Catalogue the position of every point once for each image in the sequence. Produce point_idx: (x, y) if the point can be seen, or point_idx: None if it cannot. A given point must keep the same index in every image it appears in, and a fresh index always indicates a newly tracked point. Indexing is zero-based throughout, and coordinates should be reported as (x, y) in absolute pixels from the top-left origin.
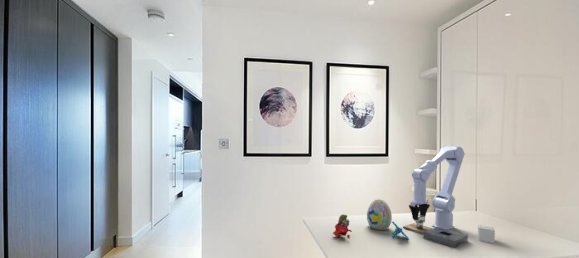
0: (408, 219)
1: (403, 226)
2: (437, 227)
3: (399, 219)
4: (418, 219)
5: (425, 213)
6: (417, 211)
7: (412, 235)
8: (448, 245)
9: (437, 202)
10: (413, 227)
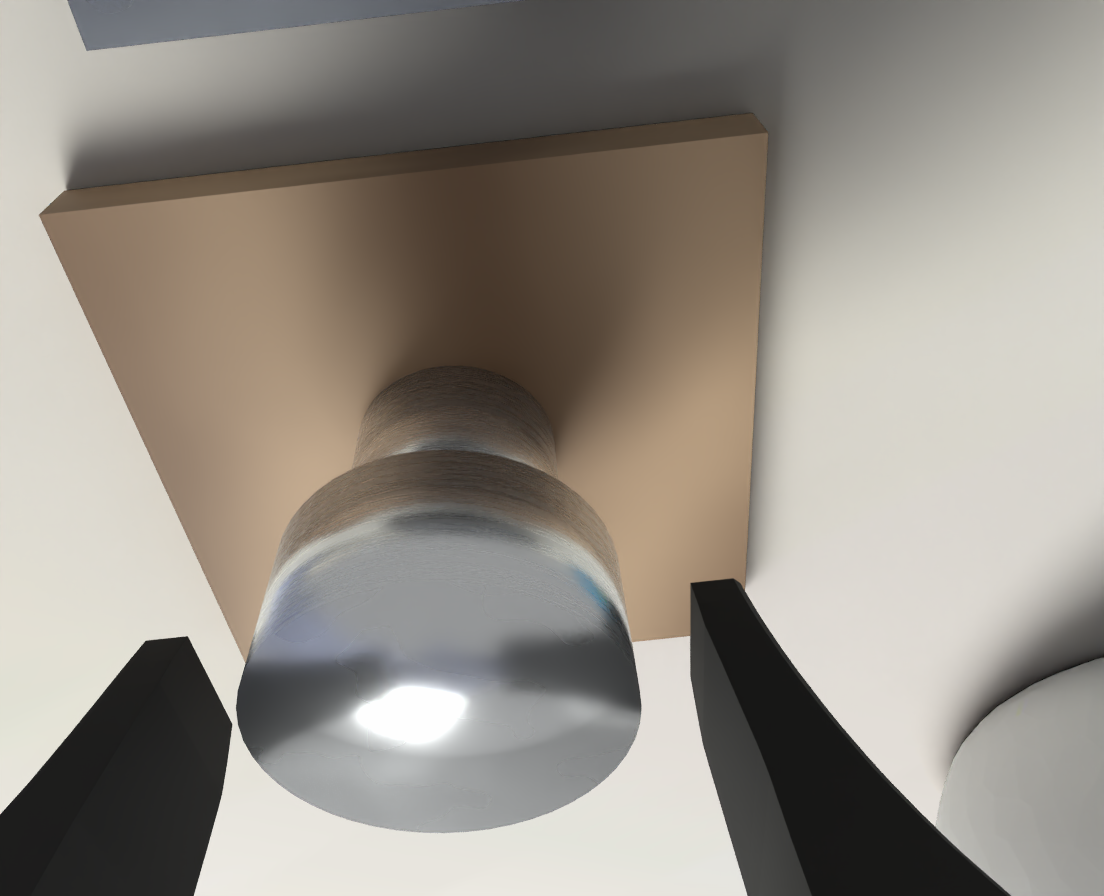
0: None
1: None
2: (130, 2)
3: (263, 879)
4: (618, 599)
5: (96, 778)
6: (991, 884)
7: (1099, 217)
8: None
9: None
10: None
